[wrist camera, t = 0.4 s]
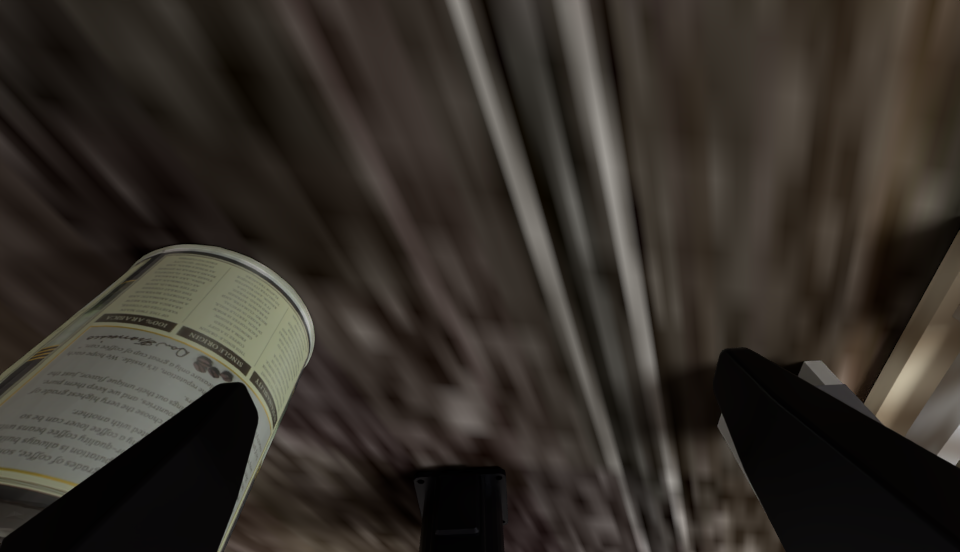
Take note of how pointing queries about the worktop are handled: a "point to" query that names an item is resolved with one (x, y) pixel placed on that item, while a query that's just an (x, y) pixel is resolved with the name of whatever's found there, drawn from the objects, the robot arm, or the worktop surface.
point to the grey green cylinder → (148, 370)
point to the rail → (927, 368)
